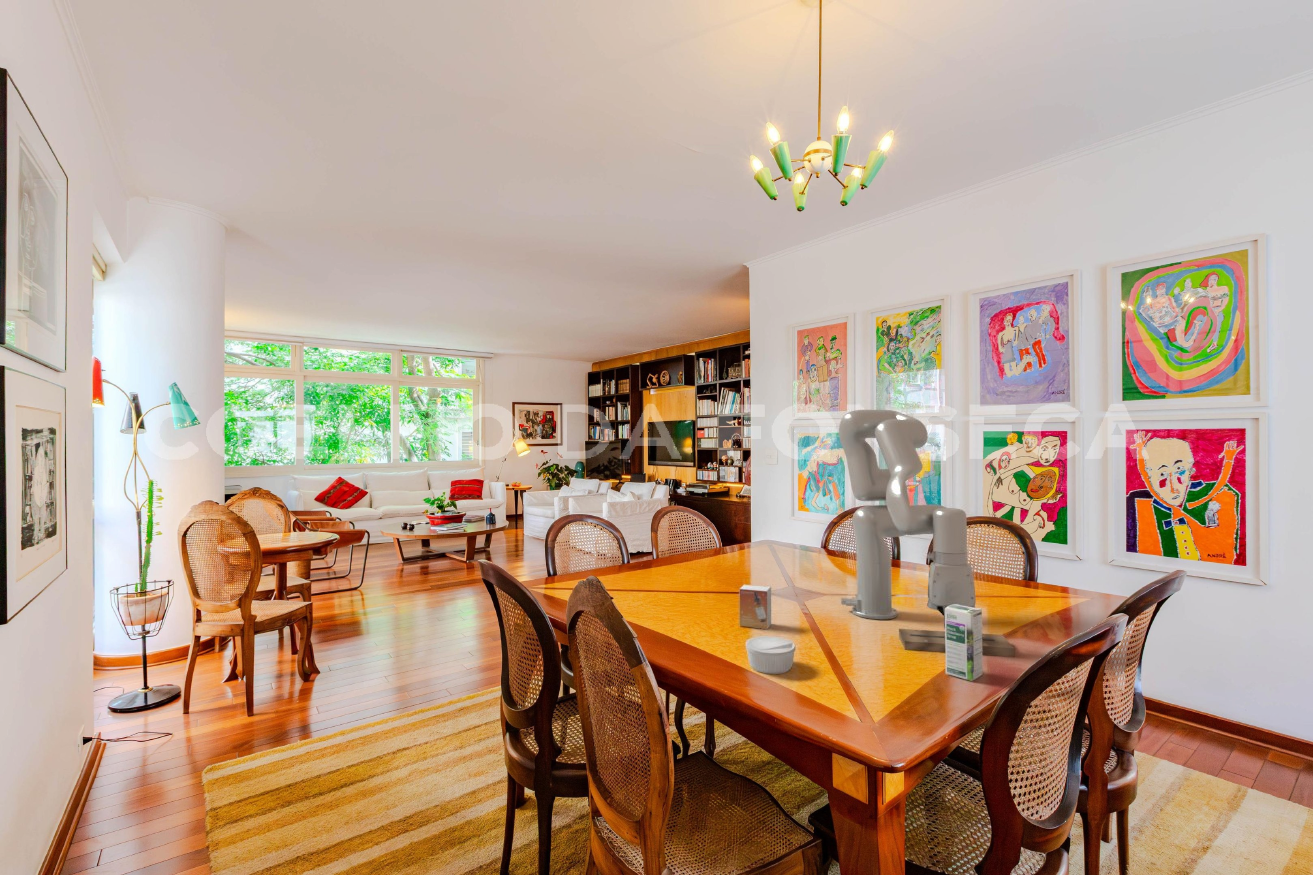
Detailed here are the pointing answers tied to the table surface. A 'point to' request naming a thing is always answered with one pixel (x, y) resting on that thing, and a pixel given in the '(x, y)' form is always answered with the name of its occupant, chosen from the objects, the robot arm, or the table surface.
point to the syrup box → (963, 641)
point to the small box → (755, 606)
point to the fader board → (936, 642)
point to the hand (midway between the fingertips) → (951, 633)
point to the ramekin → (770, 654)
